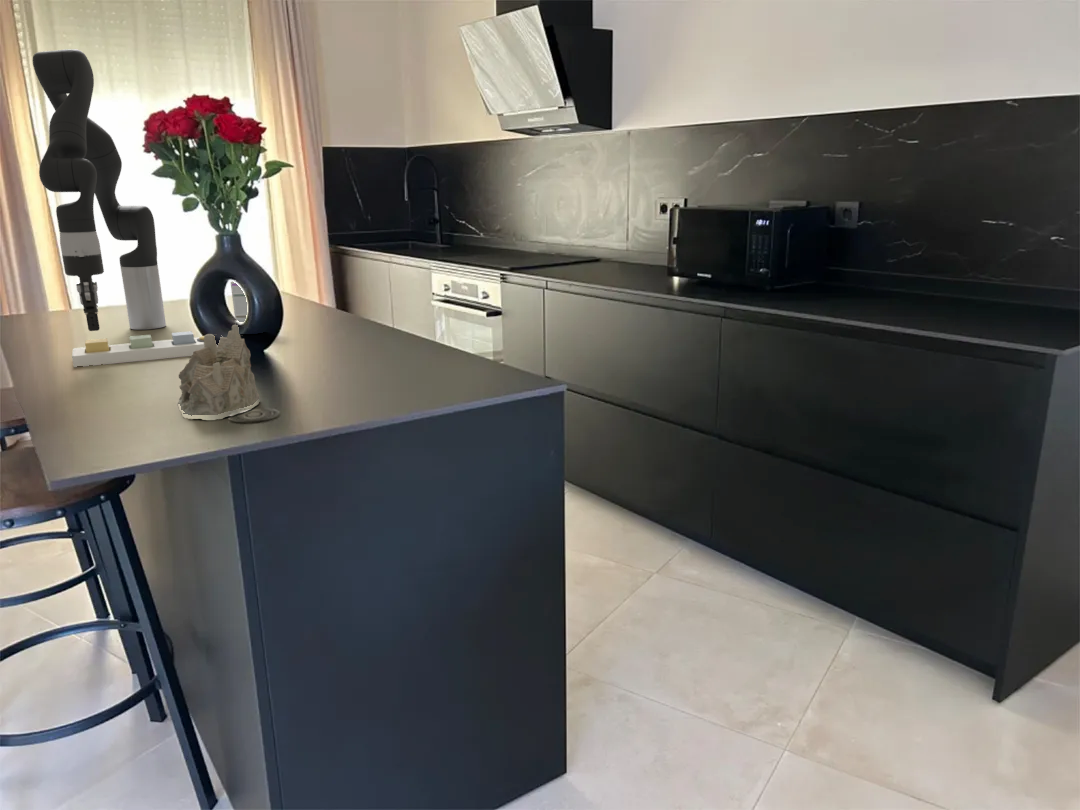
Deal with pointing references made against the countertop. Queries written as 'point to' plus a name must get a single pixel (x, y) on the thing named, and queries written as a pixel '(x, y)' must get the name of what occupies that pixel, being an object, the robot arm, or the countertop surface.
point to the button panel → (136, 352)
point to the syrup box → (239, 302)
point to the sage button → (141, 341)
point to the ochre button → (96, 345)
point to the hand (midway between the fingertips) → (94, 330)
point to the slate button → (183, 338)
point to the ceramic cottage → (218, 377)
